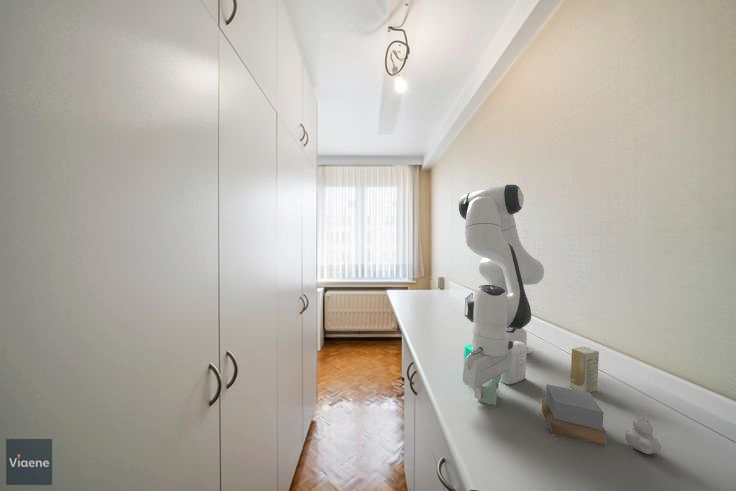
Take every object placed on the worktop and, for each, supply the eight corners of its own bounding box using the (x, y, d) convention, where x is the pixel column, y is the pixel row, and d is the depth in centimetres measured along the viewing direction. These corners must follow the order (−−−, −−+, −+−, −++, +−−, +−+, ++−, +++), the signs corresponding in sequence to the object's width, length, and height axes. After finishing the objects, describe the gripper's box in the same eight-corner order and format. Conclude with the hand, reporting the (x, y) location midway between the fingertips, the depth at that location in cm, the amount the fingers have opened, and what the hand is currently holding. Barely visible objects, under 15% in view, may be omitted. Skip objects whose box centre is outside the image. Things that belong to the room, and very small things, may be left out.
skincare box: (582, 384, 89) (584, 346, 89) (598, 391, 85) (600, 351, 85) (569, 386, 87) (570, 347, 87) (583, 394, 83) (586, 353, 82)
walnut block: (541, 412, 73) (542, 397, 73) (587, 422, 70) (588, 406, 70) (551, 436, 64) (552, 419, 64) (605, 449, 60) (606, 431, 60)
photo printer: (514, 373, 95) (516, 337, 94) (527, 378, 91) (529, 341, 91) (497, 380, 89) (498, 342, 89) (510, 386, 85) (512, 346, 85)
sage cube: (477, 393, 81) (478, 378, 81) (494, 397, 79) (495, 381, 79) (478, 401, 77) (478, 385, 76) (496, 405, 75) (496, 389, 75)
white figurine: (655, 448, 61) (656, 411, 61) (665, 467, 56) (667, 428, 55) (622, 437, 64) (623, 403, 64) (628, 455, 59) (630, 417, 58)
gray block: (545, 399, 73) (546, 383, 72) (587, 408, 69) (588, 392, 69) (554, 418, 64) (554, 401, 64) (602, 430, 61) (603, 412, 61)
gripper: (480, 356, 69) (477, 411, 69) (516, 340, 82) (514, 387, 82) (457, 348, 74) (455, 399, 74) (495, 334, 86) (493, 378, 87)
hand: (486, 393), depth 78 cm, fingers open, 7 cm apart
